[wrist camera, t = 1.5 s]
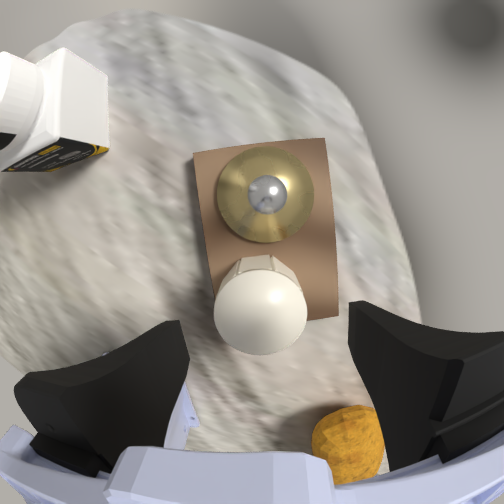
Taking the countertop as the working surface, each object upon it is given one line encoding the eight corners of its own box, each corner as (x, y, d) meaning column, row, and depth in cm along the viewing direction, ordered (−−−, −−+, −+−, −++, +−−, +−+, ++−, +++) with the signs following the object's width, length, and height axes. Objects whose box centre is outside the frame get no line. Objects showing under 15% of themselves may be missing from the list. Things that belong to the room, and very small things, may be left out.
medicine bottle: (50, 172, 19) (-54, 176, 7) (49, 103, 18) (-42, 77, 6) (112, 150, 19) (-2, 129, 7) (109, 75, 17) (20, 17, 6)
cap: (300, 320, 20) (309, 349, 16) (228, 328, 20) (222, 358, 16) (294, 250, 19) (304, 265, 15) (216, 259, 19) (206, 277, 15)
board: (334, 309, 21) (338, 315, 20) (222, 323, 22) (220, 330, 20) (320, 140, 18) (324, 137, 17) (196, 155, 19) (192, 153, 18)
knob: (317, 235, 19) (328, 244, 16) (224, 246, 19) (218, 257, 16) (306, 143, 17) (316, 133, 14) (212, 154, 18) (203, 146, 15)
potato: (317, 465, 26) (325, 506, 19) (297, 399, 23) (306, 453, 17) (376, 447, 25) (390, 485, 19) (374, 375, 23) (400, 422, 16)
